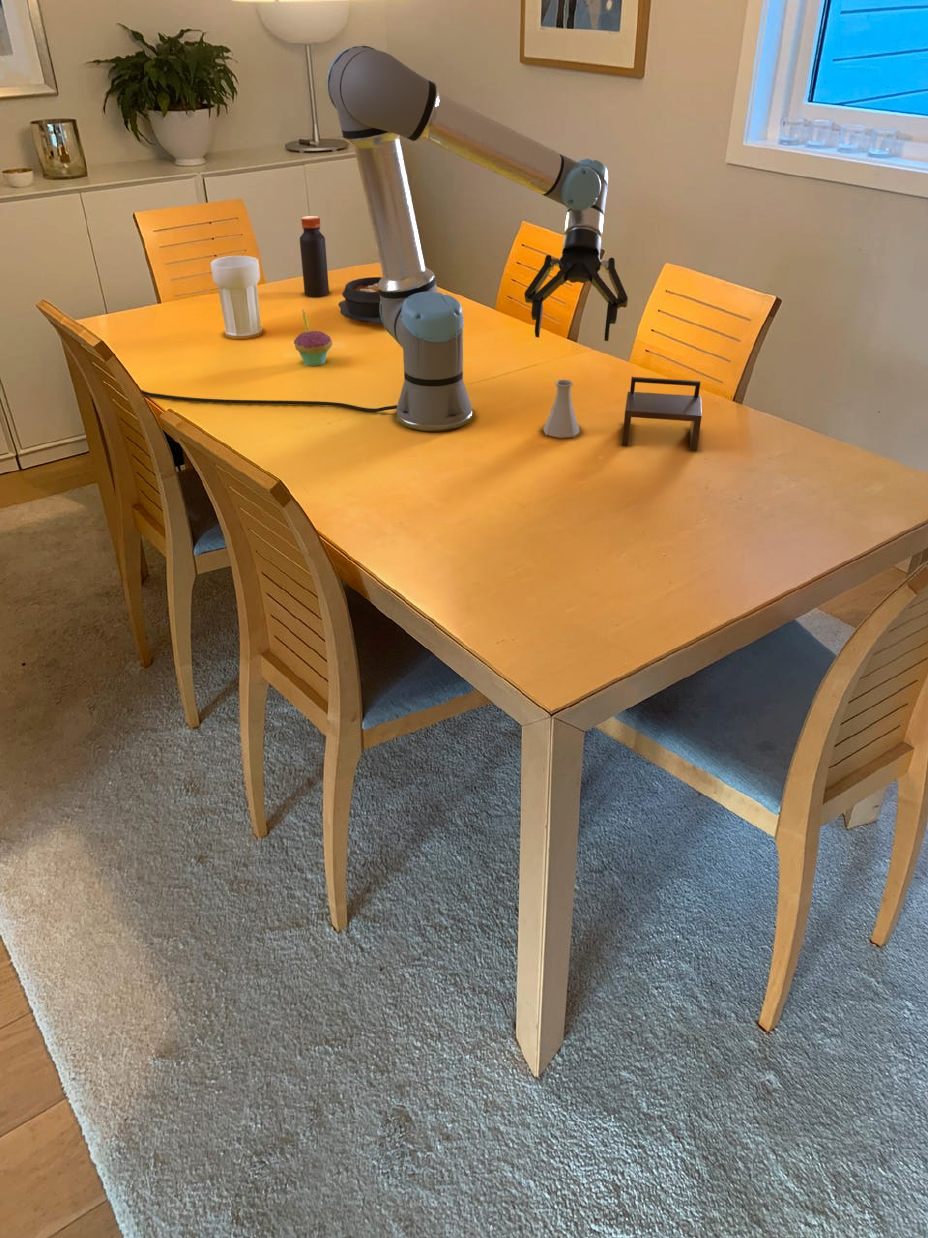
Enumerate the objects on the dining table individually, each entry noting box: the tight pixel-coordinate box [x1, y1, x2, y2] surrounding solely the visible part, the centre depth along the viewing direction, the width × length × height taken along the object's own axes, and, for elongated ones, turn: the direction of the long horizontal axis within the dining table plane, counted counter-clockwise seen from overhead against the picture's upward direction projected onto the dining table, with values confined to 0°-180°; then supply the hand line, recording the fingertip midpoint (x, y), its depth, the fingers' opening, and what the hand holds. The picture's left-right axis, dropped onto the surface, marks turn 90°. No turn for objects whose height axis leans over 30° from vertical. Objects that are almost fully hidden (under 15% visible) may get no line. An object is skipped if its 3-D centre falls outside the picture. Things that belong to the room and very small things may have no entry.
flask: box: [542, 379, 580, 439], centre depth 186 cm, size 7×7×10 cm
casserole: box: [337, 276, 384, 326], centre depth 248 cm, size 25×19×8 cm
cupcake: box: [293, 308, 333, 367], centre depth 219 cm, size 9×8×12 cm
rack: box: [621, 376, 703, 452], centre depth 184 cm, size 14×10×10 cm
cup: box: [209, 255, 263, 340], centre depth 235 cm, size 11×11×17 cm
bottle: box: [299, 215, 330, 298], centre depth 263 cm, size 7×7×20 cm
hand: (571, 336), depth 188 cm, fingers open, 13 cm apart
